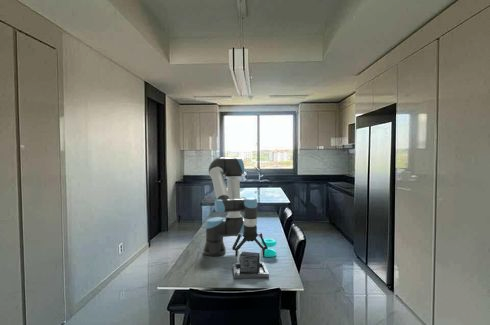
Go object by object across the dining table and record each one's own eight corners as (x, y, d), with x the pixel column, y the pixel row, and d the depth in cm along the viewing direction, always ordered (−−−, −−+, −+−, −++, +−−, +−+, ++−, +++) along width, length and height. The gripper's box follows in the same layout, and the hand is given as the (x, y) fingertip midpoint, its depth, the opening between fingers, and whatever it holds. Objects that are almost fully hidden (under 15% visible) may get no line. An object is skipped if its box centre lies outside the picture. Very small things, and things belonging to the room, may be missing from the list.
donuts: (270, 243, 207) (258, 240, 213) (270, 258, 208) (258, 255, 214) (279, 240, 215) (267, 237, 221) (279, 254, 215) (267, 251, 222)
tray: (234, 279, 176) (234, 274, 176) (232, 267, 193) (232, 263, 192) (268, 278, 178) (268, 273, 177) (263, 266, 195) (264, 262, 194)
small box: (260, 270, 187) (260, 252, 186) (257, 274, 181) (257, 256, 180) (242, 268, 190) (242, 250, 189) (239, 272, 183) (239, 254, 183)
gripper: (228, 227, 179) (228, 264, 180) (273, 226, 181) (272, 263, 183) (228, 223, 186) (227, 259, 188) (270, 222, 189) (270, 258, 190)
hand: (249, 261), depth 185 cm, fingers open, 13 cm apart
